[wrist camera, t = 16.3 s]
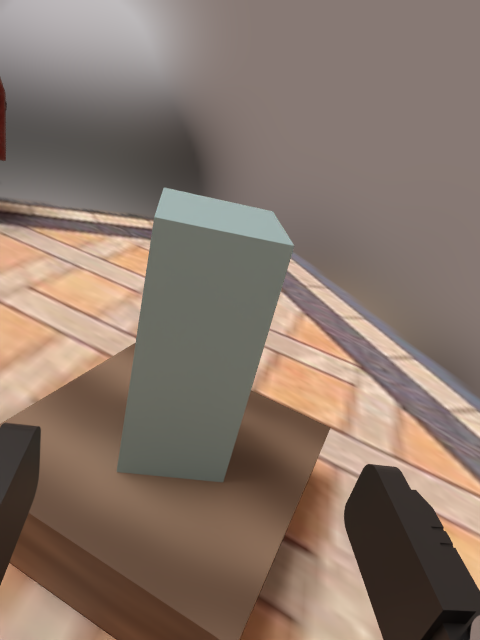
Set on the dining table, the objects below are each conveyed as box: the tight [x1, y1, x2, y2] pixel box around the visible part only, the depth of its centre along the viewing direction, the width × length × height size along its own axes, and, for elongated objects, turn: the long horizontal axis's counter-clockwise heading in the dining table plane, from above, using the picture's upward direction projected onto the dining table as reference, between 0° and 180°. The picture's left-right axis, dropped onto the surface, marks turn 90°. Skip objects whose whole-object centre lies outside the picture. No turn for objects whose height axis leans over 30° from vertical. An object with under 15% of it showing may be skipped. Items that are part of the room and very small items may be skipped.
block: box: [117, 188, 294, 482], centre depth 20 cm, size 5×5×12 cm
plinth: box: [0, 343, 330, 640], centre depth 24 cm, size 14×14×4 cm
